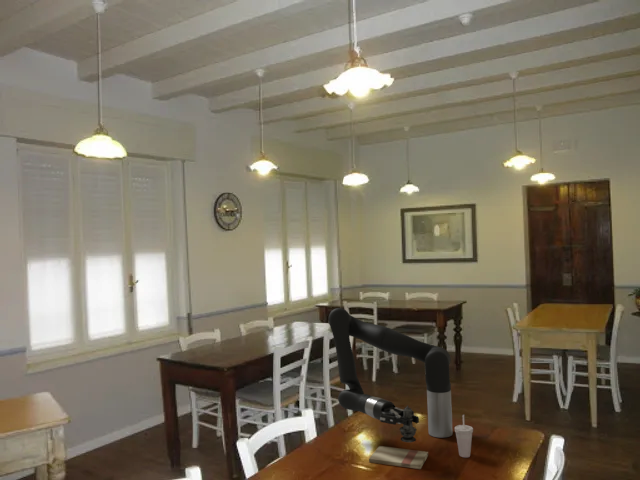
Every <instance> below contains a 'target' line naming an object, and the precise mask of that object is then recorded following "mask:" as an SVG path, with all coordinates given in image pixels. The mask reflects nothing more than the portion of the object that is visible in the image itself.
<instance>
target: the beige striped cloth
mask: <svg viewBox="0 0 640 480" xmlns="http://www.w3.org/2000/svg"><path fill="white" fill-rule="evenodd" d="M428 457H429V451H423V450H418V449H417V450H416V449H415V450H414V449H408V448H407V449H406V448H397V447H391V446H383V445H379V446H378V447H377V448H376V449H375V451H374V452H373V453H372V455H370V457H369V458H368V463H374V464H380V465H388V466H393V467H394V466H396V467H403V468H410V469H416V470H421V469H422V468H423V465H424V464H425V462H426V460H427V459H428Z"/></svg>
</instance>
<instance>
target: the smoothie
mask: <svg viewBox="0 0 640 480" xmlns="http://www.w3.org/2000/svg"><path fill="white" fill-rule="evenodd" d="M454 432H455V437H456V442H457V443H456V444H457V448H458V449H457V450H458V455H459V457H462V458H470V456H471V450H472V438H473V432H474V428H473V426H470V425H467V424H465V414H462V424H458V425H456V426H454Z"/></svg>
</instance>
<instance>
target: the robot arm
mask: <svg viewBox="0 0 640 480" xmlns="http://www.w3.org/2000/svg"><path fill="white" fill-rule="evenodd" d="M328 324H329V327H330V329H331V333H332V336H333V341H334V346H335V352H336V353H335V354H336V360H337V368H338V376H339V381H340V383H341V384H343V385H347V387H348V389H343V390H341V391H340V392H339V393H338V397H337V401H338V404H339V405H340V407H342V408H343V409H345V410H350V411H354V412H360V413H363V414H365V415H367V416H370V417H371V418H373V419H374V420H375V419H376V420H378V421H379V422H380V423H385V424H389V425H397V424H399V425H403V424H404V425H406V426H410V419H407V418H405V417H404V408H406V407H407V406H405V407H404V408H403V409H402V408H401V407H396V406H395V403H393V402H392V401H390V400H387V399H384V398H382V397H376V396H373V395H370V394H367V393H366V394H365V393H364V390H363V387H362V385H361V382H360V381H359V378H358V374H357V373H358V372H357V366H356V361H355V356H354V353H353V349H352V345H351V344H352V343H351V338H350V337H353V338H356V339H359V340H361V341H363V342H365V343H366V344H368V345H370V346H372V347H375V348H377V349H379V350H381V351H384V352H387V353H389V354H392V355H396V356H401V357H402V356H403V357H409V358H413V359H416V360H418V361H420V362H421V363H424V374H425V376H424V377H425V384H426V398H427V399H426V400H427V401H426V402H427V403H426V404H427V426H428V427H427V429H428V432H427V433H428V435H429V436H431V437H434V438H442V439H443V438H449V437H451V436H453V412H452V411H453V410H452V383H451V378H450V377H451V375H450V365H451V361H452V359H451V356H450V355H451V354H450V353H449V352H448V350H446V349H445V348H443V347H440V346H437V345H434V344H430V343H426V342H423V341H421V340H417V339H415V338H413V337H411V336H409V335H407V334H404V333H402V332H399V331H397V330H395V329H392V328H390V327H387V326H384V325H379V324H376V323H375V324H374V323H368V322H365V321H363V320H360V319H359V318H356V317H354V316H353V315H351V314H350V313H349V312H348V311H347V310H346V309H344V308H341V307H336V308H334V309H332V310H331V311H330V313H329V316H328ZM412 418H413V420H412V423H415V424H419V423H420V417H419V416H417V415H415V411H414V410H412Z"/></svg>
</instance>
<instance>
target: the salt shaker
mask: <svg viewBox="0 0 640 480" xmlns="http://www.w3.org/2000/svg"><path fill="white" fill-rule="evenodd" d="M405 407H406V408H405ZM405 407H404V408H403V410H404V417H405V418H407V419H410V426H406V425H404V424H402V426H401V427H400V428H399V432H400V434H401V435H402V437H400V441H401V442H404V443H415V442H416V440H417V438H416V437H414V436H416V432H417V428H416V427H414V425H413V422H412V420H413V418H412V411H413V409H412V408H411V407H409V405H408V404H407V405H406V406H405Z"/></svg>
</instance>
